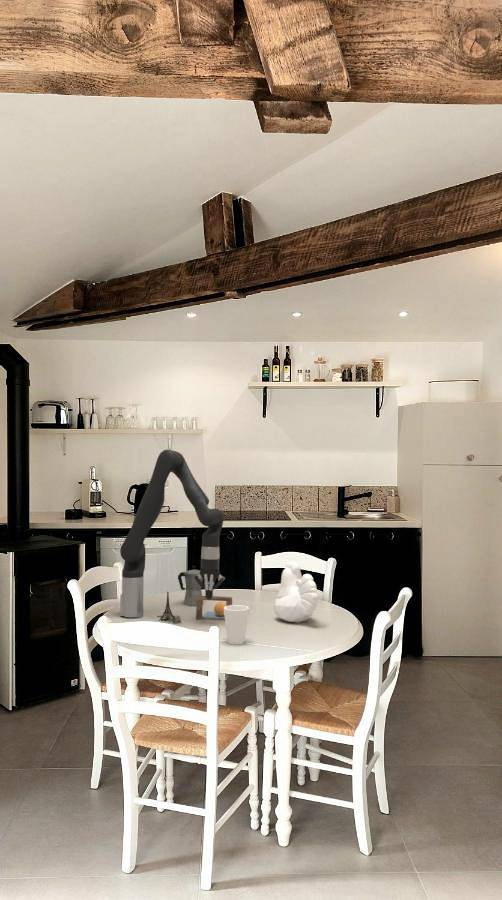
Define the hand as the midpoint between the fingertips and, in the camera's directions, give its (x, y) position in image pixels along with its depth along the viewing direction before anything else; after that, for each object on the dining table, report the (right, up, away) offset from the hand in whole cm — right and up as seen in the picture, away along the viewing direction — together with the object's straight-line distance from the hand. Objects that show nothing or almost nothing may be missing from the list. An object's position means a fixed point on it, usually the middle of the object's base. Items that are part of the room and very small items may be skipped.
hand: (209, 598), depth 297 cm
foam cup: (+12, -11, -26) cm, 30 cm away
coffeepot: (-10, -11, +38) cm, 41 cm away
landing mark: (+3, -11, +17) cm, 20 cm away
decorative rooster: (+36, -11, +6) cm, 39 cm away
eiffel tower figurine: (-18, -11, +9) cm, 23 cm away
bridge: (+2, -11, +9) cm, 14 cm away
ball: (+4, -8, +16) cm, 18 cm away
